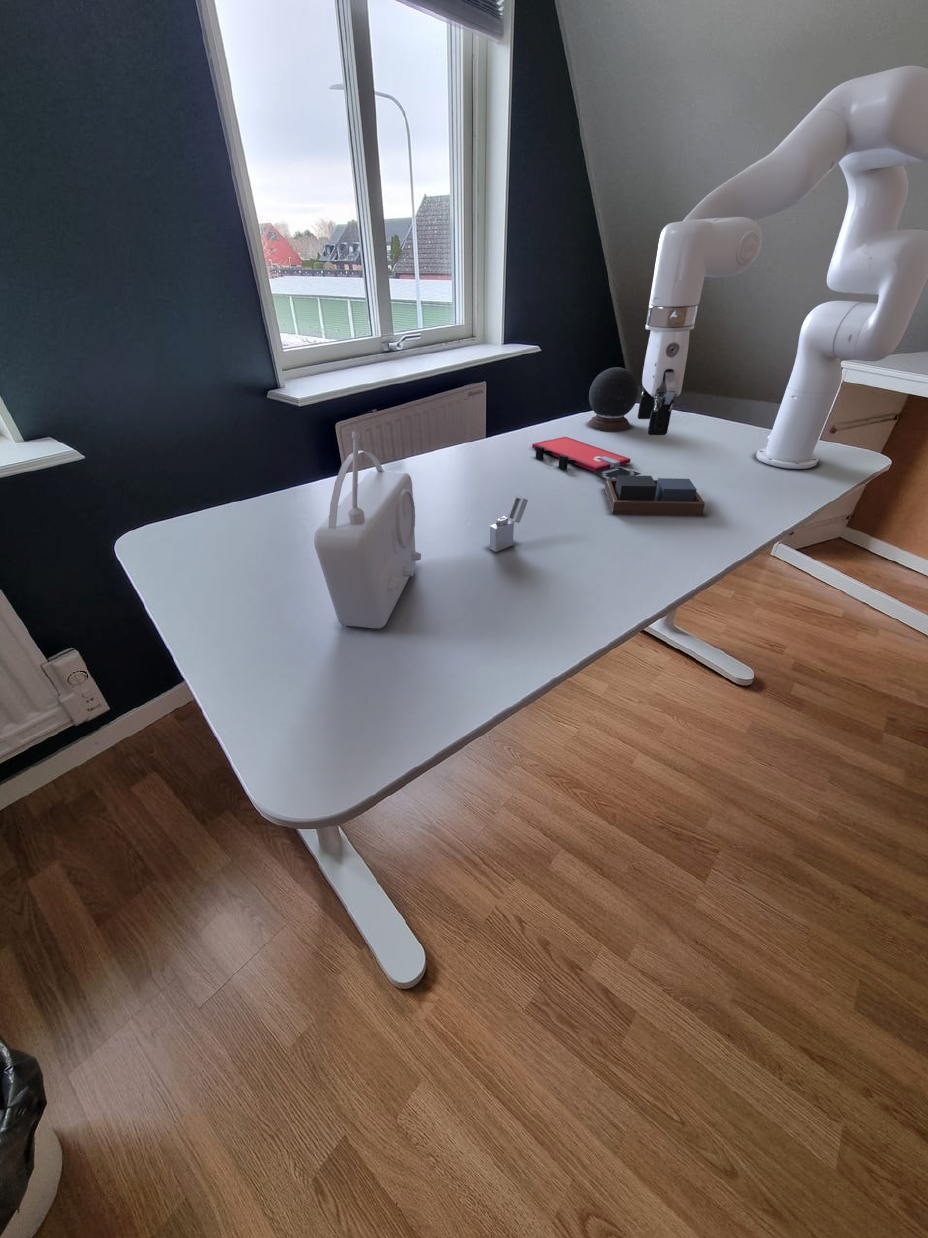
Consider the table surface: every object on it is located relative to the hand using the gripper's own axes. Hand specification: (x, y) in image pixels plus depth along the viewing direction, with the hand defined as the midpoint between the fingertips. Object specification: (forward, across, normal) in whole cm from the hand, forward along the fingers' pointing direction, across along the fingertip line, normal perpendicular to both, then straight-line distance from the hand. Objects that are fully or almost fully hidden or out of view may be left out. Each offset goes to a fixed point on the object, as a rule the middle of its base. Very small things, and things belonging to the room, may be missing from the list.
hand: (651, 426), depth 91 cm
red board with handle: (+15, +22, +9) cm, 28 cm away
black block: (+14, -1, +1) cm, 14 cm away
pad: (+14, -1, -7) cm, 16 cm away
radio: (+14, -37, +44) cm, 59 cm away
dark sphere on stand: (+16, +53, -1) cm, 56 cm away
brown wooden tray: (+15, -1, -2) cm, 15 cm away
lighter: (+14, -20, +26) cm, 35 cm away
